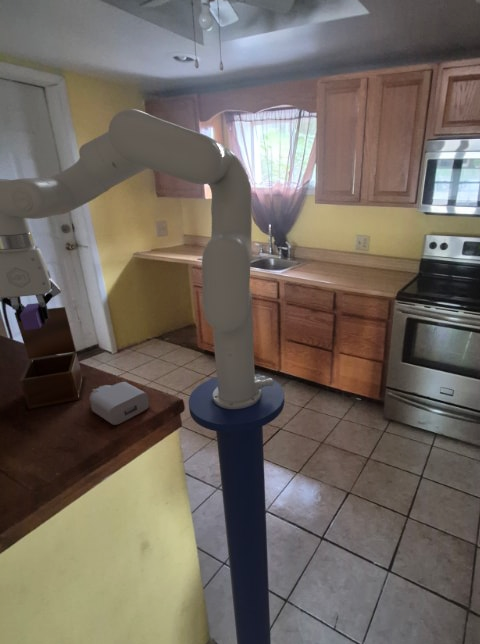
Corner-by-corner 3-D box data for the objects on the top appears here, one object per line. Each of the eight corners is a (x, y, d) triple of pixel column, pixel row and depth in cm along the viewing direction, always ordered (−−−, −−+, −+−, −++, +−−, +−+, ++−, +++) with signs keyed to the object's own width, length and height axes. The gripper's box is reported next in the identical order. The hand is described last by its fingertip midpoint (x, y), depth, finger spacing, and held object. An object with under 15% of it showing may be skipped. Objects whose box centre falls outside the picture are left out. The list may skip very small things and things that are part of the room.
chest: (79, 399, 92) (71, 372, 89) (28, 409, 88) (19, 380, 85) (83, 378, 102) (76, 352, 99) (37, 385, 98) (29, 359, 95)
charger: (115, 388, 97) (149, 407, 89) (79, 404, 90) (113, 427, 82) (112, 372, 95) (146, 391, 87) (75, 387, 88) (109, 409, 81)
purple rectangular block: (31, 318, 88) (27, 304, 87) (46, 316, 89) (42, 302, 88) (24, 330, 82) (19, 314, 80) (40, 328, 83) (35, 313, 81)
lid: (64, 307, 94) (66, 302, 97) (14, 313, 90) (18, 307, 93) (75, 351, 99) (77, 345, 102) (28, 358, 95) (32, 351, 98)
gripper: (-44, 247, 72) (-13, 334, 79) (54, 242, 78) (74, 323, 86) (-31, 241, 78) (-4, 322, 86) (59, 237, 84) (77, 313, 92)
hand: (35, 322), depth 85 cm, fingers closed on purple rectangular block, 3 cm apart
